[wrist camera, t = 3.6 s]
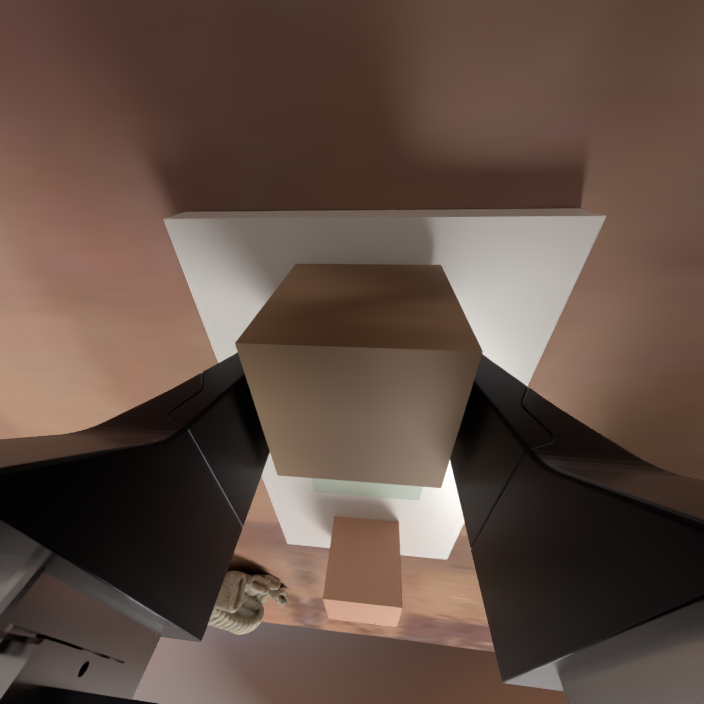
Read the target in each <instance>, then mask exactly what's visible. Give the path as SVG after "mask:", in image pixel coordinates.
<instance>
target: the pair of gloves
mask: <svg viewBox="0 0 704 704" xmlns="http://www.w3.org/2000/svg"><path fill="white" fill-rule="evenodd" d="M279 588H280V581H279V580H278V579H277V578H275V577H274V576H272V575H270V574H268V575H263V574H262V575H261V574H252V575H249V574H246V573H244V572H240V571H234V570H233V571H229V572H227V573H226V575H225V578H224V581H223V584H222V586H221V589H220V592H219V595H218V598H217V600H216V603H215V606H214V609H213V611H212V614H211V617H210V620H209V622H208V625H211V626H213V627H218V628H221V629H223V630H227V631H230V632H232V633H234V634H238V635H241V634H245V633H249V632H251V631H252V630H254V629H255V628H256V627H257V626H258V625H259V624H260V622H261V620H262V619H263V615H264V608H263V606H262V604H263V603H264V602H266V601H267V599H268V597H269V596H271V597H272V598H273V599H275V600H276V602H277V604H279V605H280V606H284V605H285V604H286V603H287V602H288V595H287V593H286V591H285V590H280V589H279Z"/></svg>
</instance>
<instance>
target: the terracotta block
mask: <svg viewBox="0 0 704 704" xmlns="http://www.w3.org/2000/svg"><path fill="white" fill-rule="evenodd" d="M323 600H324V604H325V608H326V611H327V615H328V618H329V619H335V620H343V621H351V622H360V623H368V624H376V625H384V626H393V627H397V624H398V621H399V618H400V614H401V611H402V586H401V560H400V535H399V522H396V521H384V520H373V519H362V518H350V517H339V516H334V522H333V529H332V537H331V544H330V551H329V559H328V566H327V573H326V581H325V588H324V595H323Z"/></svg>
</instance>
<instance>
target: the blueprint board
mask: <svg viewBox="0 0 704 704" xmlns="http://www.w3.org/2000/svg"><path fill="white" fill-rule="evenodd" d="M605 218H606V216H605V215H602V214H599V213H595V212H592V211H589V210H586V209H582V208H558V209H447V210H336V211H225V212H183V213H180V214H177V215H174V216H170V217H167V218H164V219H163V220H164V223H165V225H166V228H167V230H168V233H169V236H170V238H171V241H172V244H173V246H174V249H175V251H176V254H177V257H178V259H179V262H180V264H181V267H182V270H183V272H184V275H185V277H186V280H187V283H188V285H189V288H190V290H191V293H192V296H193V298H194V301H195V303H196V306H197V309H198V311H199V314H200V317H201V319H202V322H203V324H204V327H205V330H206V332H207V335H208V337H209V340H210V343H211V345H212V348H213V350H214V353H215V356H216V358H217V361H218V363H220V362H221V361H223V360H225V359H227V358H229V357H230V356H232V355H234V354H236V353H237V352H238V351H237V348H236V345H235V342H236V341H237V340H238V338H239V337H240V336H241V335H242V333H243V332H244V331H245V329H246V328H247V327H248V325H249V324H250V323H251V322H252V320H253V319H254V318H255V316H256V315H257V314H258V312H259V311H260V310H261V308H262V307H263V306H264V305H265V303H266V302H267V301H268V299H269V298H270V297H271V295H272V294H273V293H274V291H275V290H276V289H277V288H278V286H279V285H280V284H281V282H282V281H283V280H284V278H285V277H286V276H287V274H288V273H289V272H290V271H291V269H292V268H293V267H294V265H295V264H399V265H441V266H442V268H443V270H444V272H445V274H446V276H447V278H448V280H449V282H450V284H451V287H452V289H453V291H454V293H455V295H456V297H457V299H458V301H459V303H460V305H461V307H462V309H463V311H464V314H465V316H466V318H467V320H468V322H469V324H470V326H471V328H472V330H473V332H474V334H475V336H476V338H477V341H478V343H479V345H480V347H481V349H482V351H483V353H482V354H483V355H484V356H486V357H487V358H488V359H490V360H491V361H493V362H494V363H495V364H497V365H498V366H500V367H501V368H502V369H504V370H505V371H507V372H508V373H509V374H511V375H512V376H514V377H515V378H516V379H518V380H519V381H521V382H522V383H523V384H525V385H526V386H528V384H529V382H530V380H531V378H532V375H533V373H534V371H535V369H536V367H537V365H538V363H539V360H540V358H541V356H542V354H543V352H544V350H545V347H546V345H547V343H548V341H549V339H550V337H551V334H552V332H553V330H554V328H555V326H556V324H557V322H558V319H559V317H560V315H561V313H562V311H563V309H564V306H565V304H566V302H567V300H568V298H569V296H570V294H571V291H572V289H573V287H574V285H575V283H576V281H577V278H578V276H579V274H580V272H581V270H582V268H583V265H584V263H585V261H586V259H587V257H588V255H589V253H590V250H591V248H592V246H593V244H594V242H595V240H596V237H597V235H598V233H599V231H600V229H601V227H602V224H603V222H604V220H605ZM261 476H262V478H263V481H264V483H265V486H266V489H267V491H268V494H269V496H270V499H271V502H272V504H273V507H274V509H275V512H276V515H277V517H278V520H279V523H280V525H281V528H282V530H283V533H284V536H285V538H286V541H287V543H288V544H294V545H304V546H314V547H324V548H330V544H331V537H332V529H333V522H334V516H339V517H350V518H362V519H373V520H384V521H396V522H399V535H400V555H406V556H416V557H426V558H436V559H446V560H447V559H448V557H449V554H450V552H451V550H452V548H453V546H454V544H455V541H456V539H457V537H458V535H459V533H460V531H461V529H462V526H463V524H464V522H465V521H464V517H463V513H462V509H461V504H460V500H459V496H458V492H457V487H456V483H455V479H454V475H453V470H452V466H451V462H450V460H449V464H448V467H447V470H446V473H445V477H444V480H443V483H442V486H441V488H434V487H421V486H408V485H395V484H382V483H369V482H356V481H343V480H330V479H317V478H304V477H291V476H278V475H277V472H276V469H275V466H274V463H273V460H272V457H271V453H269V456H268V459H267V461H266V464H265V467H264V470H263V473H262V475H261Z"/></svg>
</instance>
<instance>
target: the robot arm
mask: <svg viewBox="0 0 704 704" xmlns="http://www.w3.org/2000/svg"><path fill="white" fill-rule="evenodd" d="M269 453H270V450H269V447H268V444H267V441H266V438H265V435H264V432H263V429H262V426H261V422H260V419H259V416H258V413H257V410H256V407H255V404H254V401H253V398H252V395H251V391H250V388H249V385H248V382H247V379H246V376H245V373H244V370H243V367H242V364H241V360H240V357H239V354H238V352H237V353H236V354H234V355H232V356H230V357H229V358H227V359H225V360H223V361H221V362H220V363H218V364H216V365H214V366H213V367H211V368H209V369H207V370H206V371H204V372H203V374H202V373H200V374H198V375H197V376H195V377H193V378H191V379H190V380H188V381H186V382H184V383H182V384H180V385H178V386H177V387H175V388H173V389H171V390H169V391H167V392H165V393H163V394H161V395H159V396H157V397H155V398H153V399H151V400H149V401H147V402H145V403H143V404H141V405H138V406H136V407H134V408H132V409H130V410H128V411H126V412H124V413H122V414H120V415H118V416H116V417H114V418H112V419H110V420H108V421H106V422H103V423H101V424H99V425H97V426H94V427H91V428H88V429H86V430H82V431H78V432H74V433H69V434H62V435H50V436H38V437H25V438H13V439H0V704H157V703H151V702H144V701H138V700H132V698H133V696H134V694H135V692H136V689H137V687H138V685H139V683H140V681H141V678H142V676H143V674H144V672H145V670H146V668H147V665H148V663H149V661H150V659H151V657H152V654H153V652H154V650H155V648H156V646H157V644H158V641H159V639H160V637H167V638H174V639H182V640H189V641H196V642H201V640H202V638H203V636H204V633H205V631H206V628H207V625H208V622H209V620H210V617H211V614H212V611H213V609H214V606H215V603H216V600H217V598H218V595H219V592H220V589H221V586H222V584H223V581H224V578H225V575H226V573H227V570H228V567H229V564H230V562H231V559H232V556H233V553H234V550H235V548H236V545H237V542H238V539H239V537H240V534H241V531H242V526H243V525H244V522H245V520H246V517H247V514H248V511H249V508H250V506H251V503H252V500H253V497H254V495H255V492H256V489H257V486H258V484H259V481H260V478H261V475H262V473H263V470H264V467H265V464H266V461H267V459H268V456H269ZM450 462H451V466H452V470H453V475H454V479H455V483H456V487H457V492H458V496H459V500H460V504H461V509H462V513H463V517H464V521H465V526H466V530H467V534H468V538H469V543H470V547H471V548H472V549H471V552H472V556H473V560H474V564H475V569H476V573H477V577H478V581H479V586H480V590H481V594H482V599H483V603H484V607H485V611H486V616H487V620H488V624H489V628H490V633H491V637H492V641H493V645H494V650H495V654H496V658H497V662H498V667H499V671H500V674H501V678H502V681H503V683H508V684H515V685H523V686H530V687H537V688H545V689H552V690H560V691H564V694H565V697H566V699H567V703H568V704H704V481H702V480H697V479H693V478H688V477H684V476H681V475H678V474H674V473H671V472H669V471H666V470H663V469H661V468H658V467H656V466H654V465H652V464H650V463H648V462H646V461H644V460H642V459H640V458H639V457H637V456H635V455H634V454H632V453H630V452H629V451H627V450H625V449H624V448H622V447H621V446H619V445H617V444H616V443H614V442H612V441H611V440H609V439H608V438H606V437H604V436H603V435H601V434H599V433H598V432H596V431H595V430H593V429H591V428H590V427H588V426H586V425H585V424H583V423H581V422H580V421H578V420H577V419H575V418H574V417H572V416H570V415H569V414H567V413H566V412H564V411H562V410H561V409H559V408H558V407H556V406H555V405H553V404H552V403H550V402H549V401H548V400H546V399H545V398H543V397H542V396H540V395H539V394H538V393H536V392H535V391H533V390H532V389H531V388H528V387H527V386H526V385H525V384H523V383H522V382H521V381H519V380H518V379H516V378H515V377H514V376H512V375H511V374H509V373H508V372H507V371H505V370H504V369H502V368H501V367H500V366H498V365H497V364H495V363H494V362H493V361H491V360H490V359H488V358H487V357H486V356H484V355H483V354H482V356H481V359H480V363H479V366H478V369H477V372H476V376H475V379H474V382H473V385H472V389H471V392H470V395H469V398H468V402H467V405H466V408H465V411H464V415H463V418H462V421H461V425H460V428H459V431H458V434H457V438H456V441H455V444H454V447H453V451H452V454H451V457H450Z"/></svg>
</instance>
